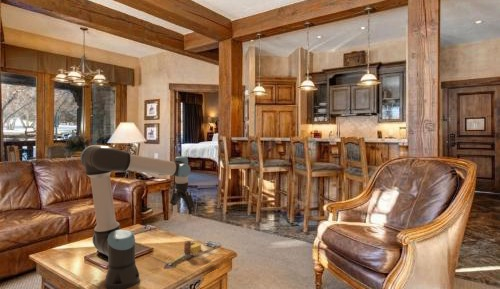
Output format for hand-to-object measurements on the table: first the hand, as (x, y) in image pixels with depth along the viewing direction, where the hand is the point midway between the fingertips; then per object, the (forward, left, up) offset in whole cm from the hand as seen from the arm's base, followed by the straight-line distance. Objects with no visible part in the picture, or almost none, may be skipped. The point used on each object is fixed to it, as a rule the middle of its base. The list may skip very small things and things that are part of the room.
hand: (182, 217), depth 186 cm
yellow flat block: (0, -10, -17) cm, 20 cm away
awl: (-9, -16, -19) cm, 26 cm away
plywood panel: (+2, -14, -19) cm, 23 cm away
